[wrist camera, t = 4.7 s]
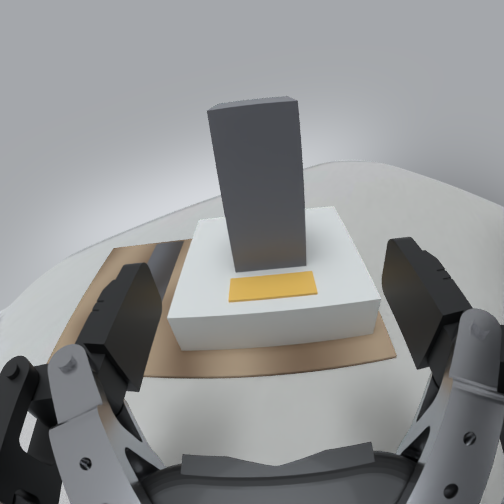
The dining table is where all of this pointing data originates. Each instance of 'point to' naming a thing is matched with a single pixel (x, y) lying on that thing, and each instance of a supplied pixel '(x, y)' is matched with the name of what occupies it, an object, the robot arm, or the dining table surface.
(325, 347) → the subfloor panel
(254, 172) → the block on square base
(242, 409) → the dining table surface
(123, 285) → the robot arm
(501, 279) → the dining table surface
